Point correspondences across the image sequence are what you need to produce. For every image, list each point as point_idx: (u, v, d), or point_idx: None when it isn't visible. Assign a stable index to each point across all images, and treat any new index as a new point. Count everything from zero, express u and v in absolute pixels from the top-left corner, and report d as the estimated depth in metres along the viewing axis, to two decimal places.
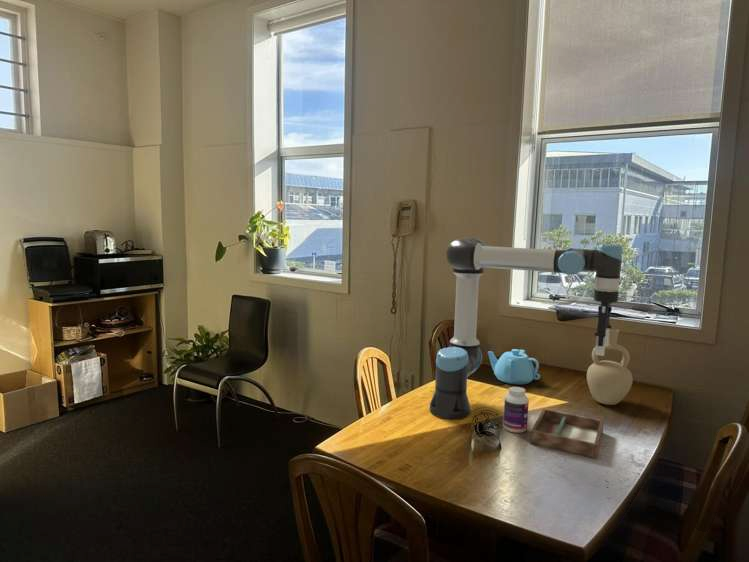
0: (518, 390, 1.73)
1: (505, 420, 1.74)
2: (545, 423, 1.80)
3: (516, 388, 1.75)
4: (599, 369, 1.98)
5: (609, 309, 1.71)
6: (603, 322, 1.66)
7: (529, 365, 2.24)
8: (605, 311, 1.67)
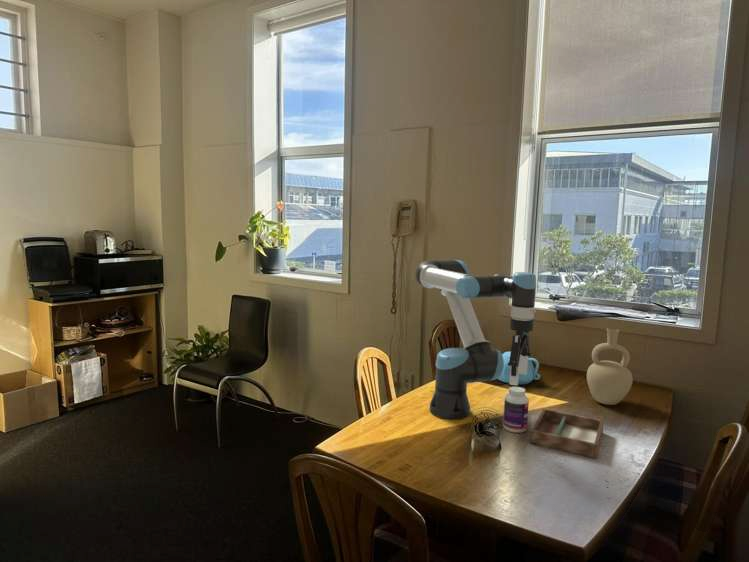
0: (518, 390, 1.73)
1: (505, 420, 1.74)
2: (545, 423, 1.80)
3: (516, 388, 1.75)
4: (599, 369, 1.98)
5: (524, 338, 1.69)
6: (515, 352, 1.64)
7: (529, 365, 2.24)
8: (518, 341, 1.65)
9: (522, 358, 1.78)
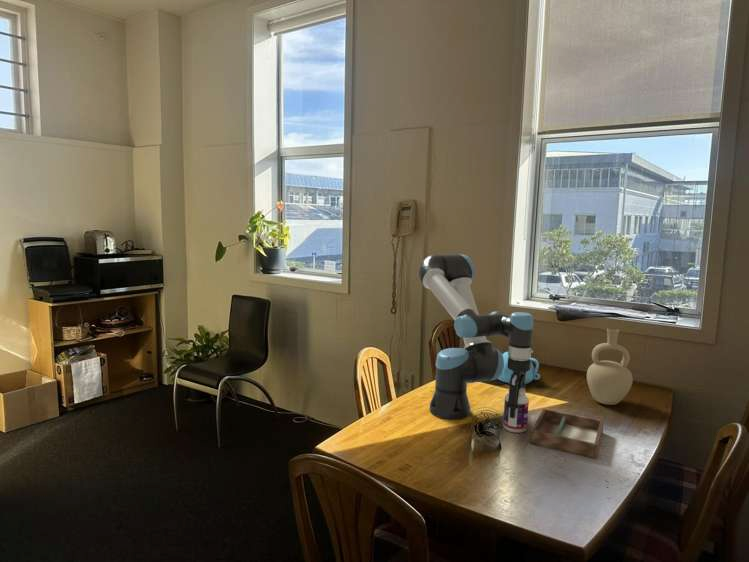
0: None
1: (505, 420, 1.74)
2: (545, 423, 1.80)
3: None
4: (599, 369, 1.98)
5: (521, 378, 1.71)
6: (513, 395, 1.68)
7: None
8: (515, 384, 1.67)
9: None
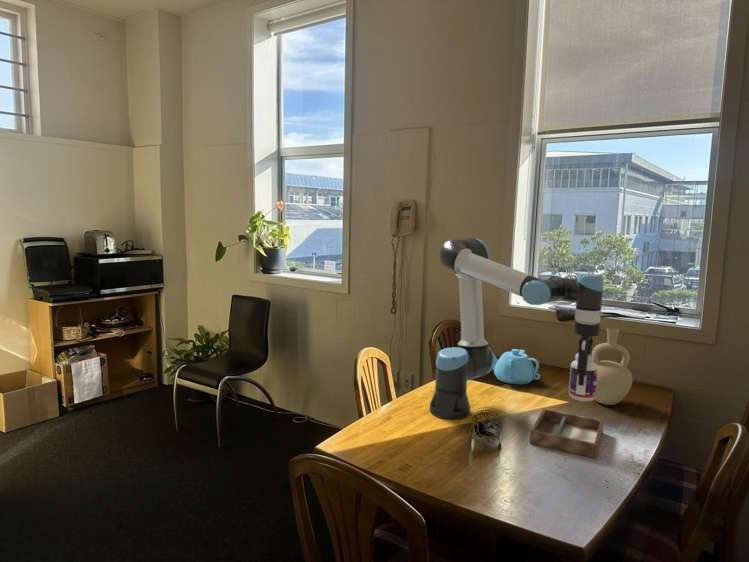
0: None
1: (572, 388, 1.64)
2: (545, 423, 1.80)
3: None
4: (599, 369, 1.98)
5: (590, 343, 1.61)
6: (583, 361, 1.58)
7: (529, 365, 2.24)
8: (585, 349, 1.58)
9: None
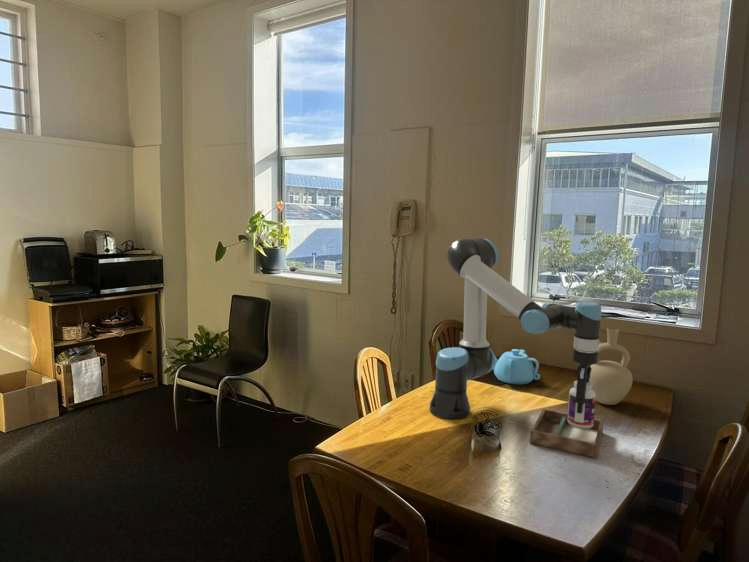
0: None
1: (570, 415, 1.65)
2: (545, 423, 1.80)
3: None
4: (599, 369, 1.98)
5: (588, 371, 1.62)
6: (582, 389, 1.59)
7: (529, 365, 2.24)
8: (583, 377, 1.59)
9: None
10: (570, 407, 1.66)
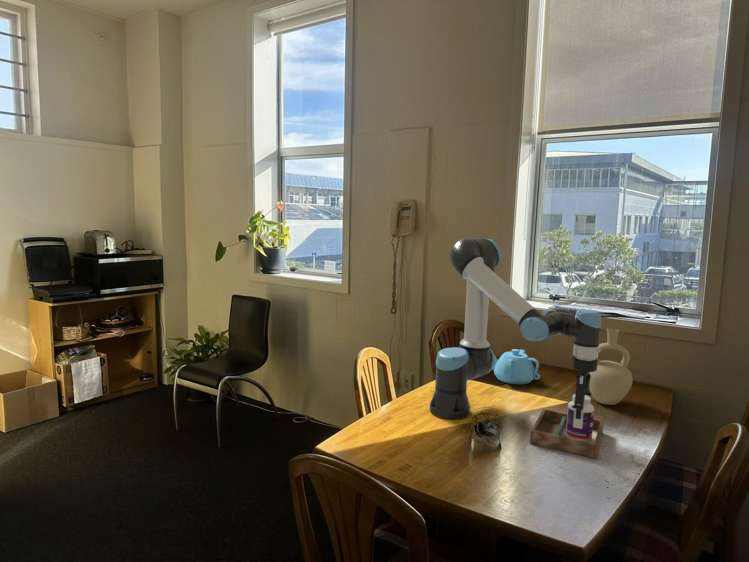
0: None
1: (569, 429, 1.66)
2: (545, 423, 1.80)
3: None
4: (599, 369, 1.98)
5: (588, 378, 1.63)
6: (581, 394, 1.58)
7: (529, 365, 2.24)
8: (583, 382, 1.59)
9: None
10: (568, 421, 1.66)
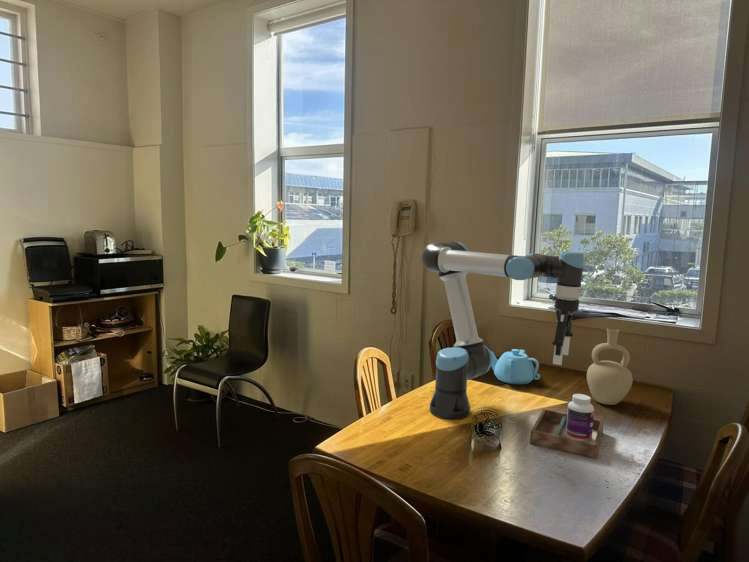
0: (583, 398, 1.65)
1: (569, 429, 1.66)
2: (545, 423, 1.80)
3: (580, 395, 1.67)
4: (599, 369, 1.98)
5: (569, 318, 1.68)
6: (561, 331, 1.63)
7: (529, 365, 2.24)
8: (564, 320, 1.64)
9: (564, 338, 1.77)
10: (568, 421, 1.66)
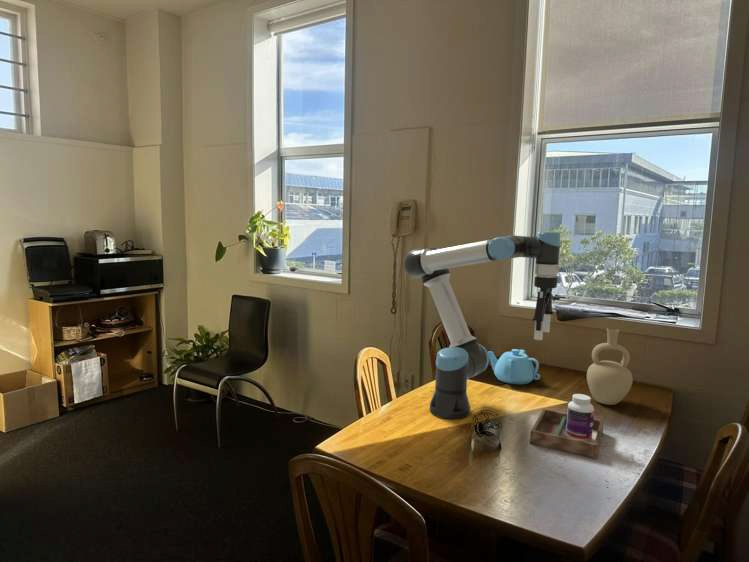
0: (583, 398, 1.65)
1: (569, 429, 1.66)
2: (545, 423, 1.80)
3: (580, 395, 1.67)
4: (599, 369, 1.98)
5: (548, 295, 1.75)
6: (540, 307, 1.70)
7: (529, 365, 2.24)
8: (542, 296, 1.71)
9: (545, 316, 1.84)
10: (568, 421, 1.66)
